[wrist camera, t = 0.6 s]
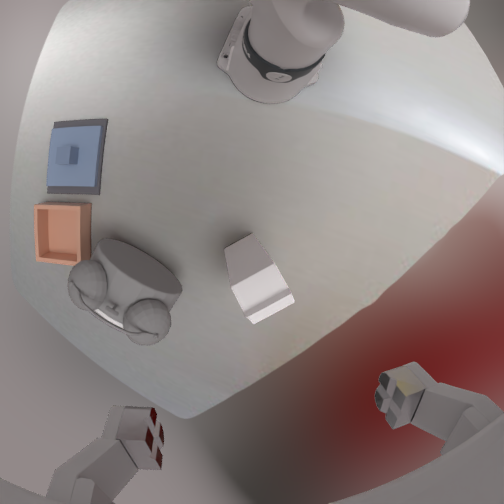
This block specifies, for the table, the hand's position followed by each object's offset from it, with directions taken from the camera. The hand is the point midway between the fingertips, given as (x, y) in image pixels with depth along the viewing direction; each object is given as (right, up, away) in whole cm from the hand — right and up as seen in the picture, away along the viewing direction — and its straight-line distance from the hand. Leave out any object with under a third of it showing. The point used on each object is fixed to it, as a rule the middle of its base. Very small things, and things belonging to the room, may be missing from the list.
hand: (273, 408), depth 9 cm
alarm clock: (-21, +3, +42) cm, 47 cm away
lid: (-33, +23, +34) cm, 53 cm away
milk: (-2, +5, +44) cm, 44 cm away
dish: (-36, +10, +38) cm, 53 cm away
